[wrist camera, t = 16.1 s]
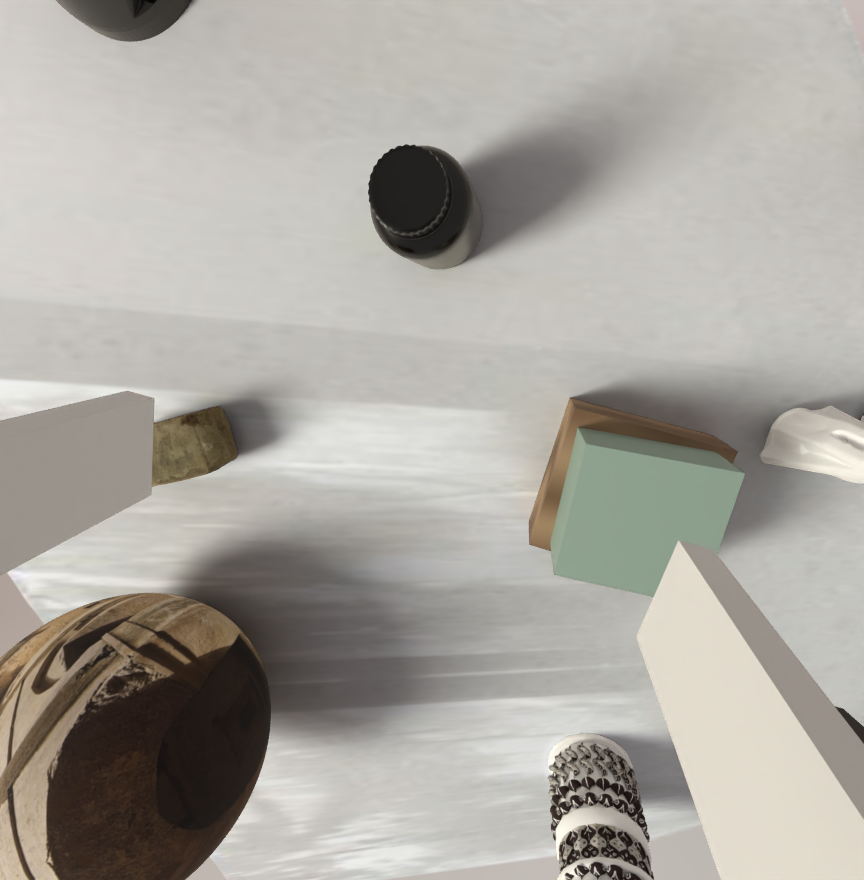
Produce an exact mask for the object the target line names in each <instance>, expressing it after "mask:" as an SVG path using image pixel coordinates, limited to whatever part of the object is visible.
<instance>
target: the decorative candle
mask: <svg viewBox="0 0 864 880" xmlns="http://www.w3.org/2000/svg"><path fill="white" fill-rule="evenodd" d="M549 772H550V774H551V775H549V777H548V780H549V781H550V784H551V785H550V788H551V789H550V790H549V795H550V796H552V799H551V803H552V806H551V808H550V812H551V815H552V820H553V822H552V824H551V830H552V832H553V838H554V840H555V841H556V850H557V859H558V861H559V864H560V875H559V877H558V879H557V880H654V877H653V873H652V872H651V855H650V850H649V846H648V842H649V839H650V838H649V834H648V832H647V824H646V822H645V817H644V815H643V814H642V812H643V808H642V806H641V798H640V795H639V789H638V787H637V782H636V780H635V774H634V771H633V766H632V763H631V761H630V759H629V757H628V755H627V753H626V751H625V750H624V749H623V748H621V747H620V746H619V745H618V744H617V743H616V742H615V741H613V740H610V739H608V738H605V737H603V736H601V735H598V734H587V733H580V734H575V735H571V736H567V737H565V738H564V739H562V740H561V741H559V742H558V743H556V744H555V745H554V747H553V749H552V751H551V752H550V754H549Z"/></svg>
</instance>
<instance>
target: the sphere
mask: <svg viewBox="0 0 864 880" xmlns="http://www.w3.org/2000/svg"><path fill="white" fill-rule="evenodd" d="M270 721H271V705H270V694H269V687H268V682H267V678H266V674H265V671H264V668H263V665H262V663H261V660H260V658H259V656H258V654H257V652H256V650H255V648H254V647H253V645H252V644H251V642H250V641H249V639H248V638H247V637H246V635H245V634H244V633H243V632H242V631H241V629H240V628H239V627H238V626H237V625H236V624H235V623H233V622H232V621H231V620H230V619H229V618H227V617H226V616H225V615H223V614H222V613H220V612H219V611H217V610H215V609H214V608H212V607H210V606H208V605H206V604H203V603H201V602H199V601H196V600H193V599H190V598H186V597H182V596H177V595H171V594H161V593H138V594H128V595H122V596H116V597H111V598H107V599H103V600H100V601H96V602H93V603H90V604H87V605H84V606H82V607H79V608H77V609H74V610H72V611H70V612H68V613H66V614H63V615H61V616H59V617H58V618H56V619H54V620H52V621H50V622H48V623H47V624H45V625H43V626H42V627H40V628H39V629H37V630H36V631H34V632H33V633H31V634H30V635H28V636H27V637H25V638H24V639H23V640H22V641H20V642H19V643H18V644H16V645H15V646H14V647H13V648H11V649H10V650H9V651H8V652H7V653H6V654H5V655H3V656H2V657H1V658H0V880H186V879H187V878H188V877H189V876H190V875H191V874H192V873H193V872H194V871H196V870H197V869H198V868H199V867H200V866H201V865H202V864H203V863H204V861H205V860H206V859H207V858H208V857H209V856H210V855H211V854H212V853H213V852H214V850H215V849H216V848H217V847H218V846H219V844H220V843H221V842H222V841H223V839H224V838H225V837H226V835H227V834H228V833H229V831H230V830H231V828H232V827H233V825H234V824H235V822H236V821H237V819H238V818H239V816H240V814H241V813H242V811H243V809H244V807H245V805H246V804H247V802H248V800H249V798H250V796H251V793H252V791H253V789H254V787H255V784H256V782H257V779H258V777H259V774H260V771H261V768H262V765H263V762H264V758H265V754H266V750H267V745H268V739H269V732H270Z"/></svg>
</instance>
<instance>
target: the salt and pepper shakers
mask: <svg viewBox="0 0 864 880" xmlns="http://www.w3.org/2000/svg"><path fill="white" fill-rule="evenodd" d="M759 456H760V459H761V461H762V462H763V463H765V464H772V465H777V466H783V467H788V468H795V469H800V470H806V471H811V472H817V473H824V474H830V475H832V476H834V477H837V478H840V479H842V480H845V481H848V482H854V483H861V484H864V415H863V416H862V417H861V421H860V420H858V419H856V418H854V417H852V416H850V415H848V414H846V413H844V412H842V411H840V410H838V409H836V408H834V407H833V406H831V405H830V406H828V407H825V408H823V409H819V410H808V409H805V408H794V409H791V410H789V411H787V412H785V413H783V414H782V415H780V416H779V417H778V418H777V419H776V420H775V422H774V423H773V425H772V426H771V429H770V431H769V434H768V437H767V440H766V443H765V447H764V450H763V451H762V452H761V453H760V454H759Z"/></svg>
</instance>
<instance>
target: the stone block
mask: <svg viewBox="0 0 864 880" xmlns="http://www.w3.org/2000/svg"><path fill="white" fill-rule="evenodd" d="M237 456H238V453H237V449H236V445H235V442H234V439H233V435H232V431H231V427H230V424H229V421H228V419H227V417H226V415H225V412H224V411H223V410H222V408H221V407H220V406H216V407H212V408H208V409H204V410H201V411H197V412H193V413H189V414H186V415H182V416H179V417H175V418H172V419H169V420H165V421H162V422H157V423H154V426H153V458H152V487H153V486H157V485H162V484H167V483H172V482H177V481H181V480H186V479H190V478H193V477H197V476H201V475H205V474H208V473H211V472H213V471H216V470H218V469H219V468H221V467H222V466H224V465H226V464H227V463H229V462H231V461H233V460H235V459H236V458H237Z"/></svg>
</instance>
